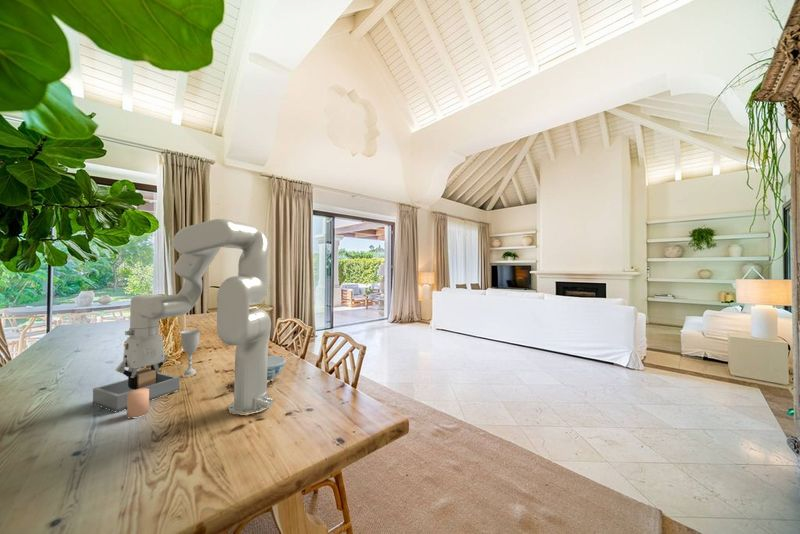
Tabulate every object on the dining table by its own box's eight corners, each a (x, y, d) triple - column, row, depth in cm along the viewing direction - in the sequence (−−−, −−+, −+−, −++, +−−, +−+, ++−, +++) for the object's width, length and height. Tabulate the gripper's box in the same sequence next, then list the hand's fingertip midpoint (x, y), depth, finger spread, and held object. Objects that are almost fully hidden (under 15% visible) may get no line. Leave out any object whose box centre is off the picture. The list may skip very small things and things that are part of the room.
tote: (179, 391, 110) (179, 377, 110) (116, 412, 94) (117, 396, 94) (155, 384, 116) (155, 371, 116) (92, 403, 99) (93, 388, 99)
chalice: (182, 379, 121) (183, 334, 121) (176, 375, 125) (177, 331, 126) (203, 374, 127) (203, 331, 127) (196, 371, 131) (197, 329, 131)
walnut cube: (155, 385, 105) (156, 370, 105) (138, 390, 100) (138, 375, 100) (147, 382, 107) (147, 368, 107) (129, 387, 102) (130, 372, 102)
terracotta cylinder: (152, 412, 94) (152, 390, 94) (132, 420, 89) (133, 396, 89) (142, 409, 96) (143, 387, 96) (123, 416, 91) (123, 393, 91)
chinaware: (275, 388, 114) (276, 367, 114) (236, 387, 115) (236, 366, 115) (290, 374, 129) (291, 356, 129) (255, 373, 130) (256, 355, 130)
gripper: (119, 338, 94) (117, 397, 94) (178, 328, 110) (176, 379, 110) (106, 335, 97) (104, 392, 97) (165, 326, 113) (163, 375, 113)
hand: (143, 385), depth 104 cm, fingers closed on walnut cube, 5 cm apart
